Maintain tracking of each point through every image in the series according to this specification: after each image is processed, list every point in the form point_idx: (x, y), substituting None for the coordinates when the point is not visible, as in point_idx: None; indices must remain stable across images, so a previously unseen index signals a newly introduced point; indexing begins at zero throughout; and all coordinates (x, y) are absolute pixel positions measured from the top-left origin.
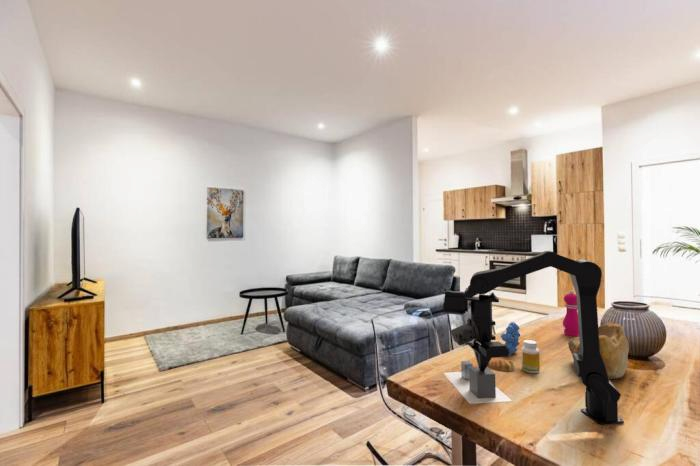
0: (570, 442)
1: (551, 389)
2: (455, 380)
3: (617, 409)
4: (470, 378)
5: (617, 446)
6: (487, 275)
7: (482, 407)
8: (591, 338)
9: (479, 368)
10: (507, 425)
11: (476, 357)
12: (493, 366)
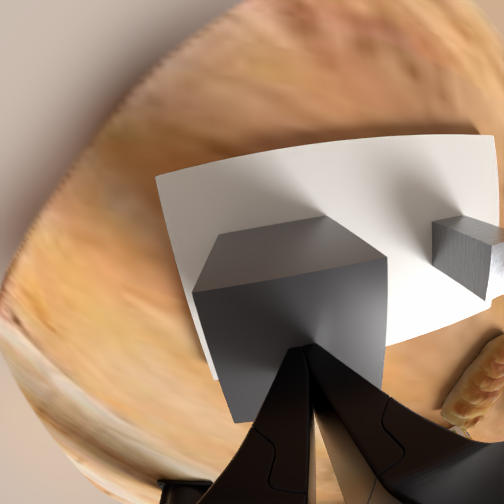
0: (60, 403)
1: (333, 469)
2: (431, 167)
3: None
4: (332, 235)
5: (88, 456)
6: None
7: None
8: None
9: (312, 350)
10: (68, 297)
11: (373, 410)
12: (487, 367)
